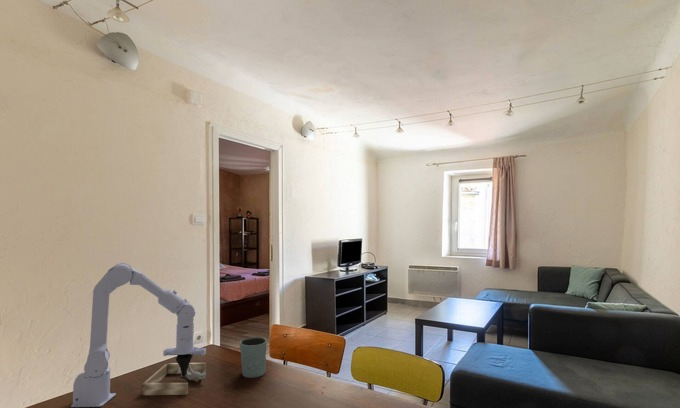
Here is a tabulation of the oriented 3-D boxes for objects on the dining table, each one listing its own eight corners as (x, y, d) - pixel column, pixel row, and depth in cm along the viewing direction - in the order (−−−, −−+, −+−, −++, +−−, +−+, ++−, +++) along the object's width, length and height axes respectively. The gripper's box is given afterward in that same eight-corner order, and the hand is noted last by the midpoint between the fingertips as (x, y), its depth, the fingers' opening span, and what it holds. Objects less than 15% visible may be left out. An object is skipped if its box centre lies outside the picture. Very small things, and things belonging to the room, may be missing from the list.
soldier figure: (189, 375, 137) (214, 369, 134) (184, 388, 133) (210, 382, 130) (175, 366, 133) (201, 359, 129) (170, 379, 129) (196, 373, 125)
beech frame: (141, 395, 120) (141, 384, 120) (166, 372, 138) (166, 363, 138) (186, 394, 120) (186, 383, 120) (205, 371, 138) (205, 362, 138)
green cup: (260, 379, 131) (260, 346, 132) (234, 377, 133) (234, 344, 134) (270, 368, 141) (270, 337, 142) (246, 366, 143) (247, 335, 144)
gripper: (209, 333, 134) (208, 370, 133) (169, 333, 134) (169, 371, 133) (202, 339, 127) (201, 378, 126) (160, 340, 127) (160, 379, 126)
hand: (184, 375), depth 129 cm, fingers closed, pressing on soldier figure
